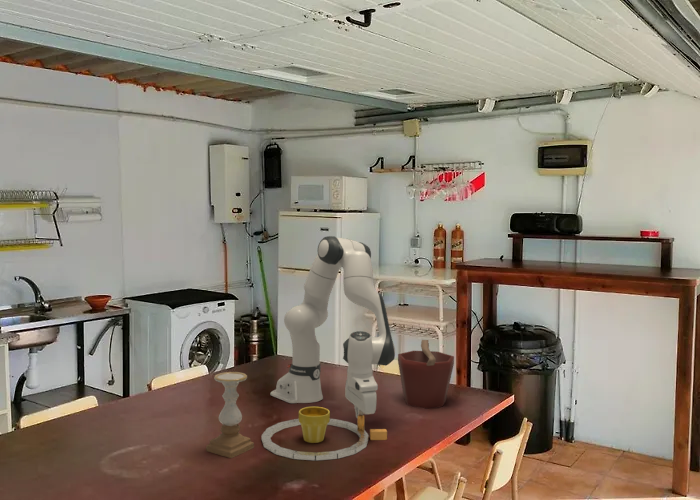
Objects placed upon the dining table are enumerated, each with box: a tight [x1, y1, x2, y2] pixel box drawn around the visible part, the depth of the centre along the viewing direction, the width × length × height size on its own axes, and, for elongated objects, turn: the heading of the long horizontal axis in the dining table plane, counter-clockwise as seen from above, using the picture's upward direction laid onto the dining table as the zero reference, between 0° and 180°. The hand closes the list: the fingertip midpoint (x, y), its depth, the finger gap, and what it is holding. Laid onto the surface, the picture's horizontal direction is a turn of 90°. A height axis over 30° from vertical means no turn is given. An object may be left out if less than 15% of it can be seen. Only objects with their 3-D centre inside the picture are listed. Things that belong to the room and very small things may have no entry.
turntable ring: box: [261, 414, 370, 462], centre depth 209 cm, size 35×35×6 cm
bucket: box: [397, 339, 455, 409], centre depth 254 cm, size 24×22×25 cm
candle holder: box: [205, 371, 255, 459], centre depth 199 cm, size 11×11×24 cm
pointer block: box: [369, 428, 388, 441], centre depth 211 cm, size 6×2×3 cm, turn 95°
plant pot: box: [298, 406, 331, 444], centre depth 209 cm, size 10×10×10 cm
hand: (359, 418), depth 217 cm, fingers closed
